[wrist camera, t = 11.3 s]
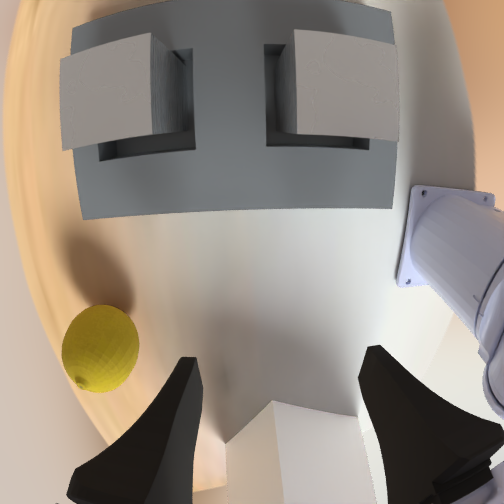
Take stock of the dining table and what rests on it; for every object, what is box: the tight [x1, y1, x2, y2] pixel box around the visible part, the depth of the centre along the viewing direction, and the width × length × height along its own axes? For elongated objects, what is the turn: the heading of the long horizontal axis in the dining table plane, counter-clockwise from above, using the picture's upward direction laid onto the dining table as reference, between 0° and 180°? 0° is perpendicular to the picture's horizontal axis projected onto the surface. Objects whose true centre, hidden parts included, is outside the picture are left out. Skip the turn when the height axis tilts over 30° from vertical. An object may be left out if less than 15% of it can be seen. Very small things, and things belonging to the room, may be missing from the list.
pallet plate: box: [71, 0, 397, 220], centre depth 14 cm, size 18×12×3 cm, turn 91°
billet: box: [274, 29, 399, 142], centre depth 12 cm, size 4×4×7 cm
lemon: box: [62, 305, 139, 393], centre depth 18 cm, size 6×6×8 cm
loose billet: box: [60, 33, 189, 151], centre depth 11 cm, size 4×4×7 cm
